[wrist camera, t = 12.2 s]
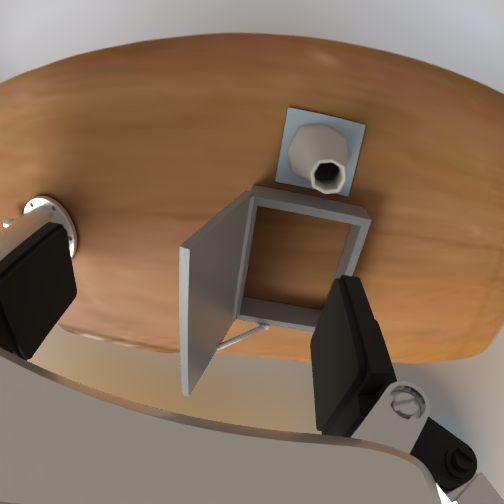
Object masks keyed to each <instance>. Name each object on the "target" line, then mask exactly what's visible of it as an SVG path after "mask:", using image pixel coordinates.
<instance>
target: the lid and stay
mask: <svg viewBox="0 0 504 504" xmlns="http://www.w3.org/2000/svg"><path fill="white" fill-rule="evenodd" d="M252 195H253V192H250V191H245V192H244V193H242V194H241V195H240V196H239V197H238V198H236V199H235V200H234V201H233V202H231V203H230V204H229V205H228V206H227V207H225V208H224V209H223V210H222V211H221V212H219V213H218V214H217V215H216V216H215V217H214V218H212V219H211V220H210V221H209V222H208V223H206V224H205V225H204V226H203V227H202V228H201V229H199V230H198V231H197V232H196V233H195V234H194V235H192V236H191V237H190V238H189V239H188V240H187V241H185V242H184V243H183V244H182V245H181V246H180V262H179V326H180V360H181V382H182V394H183V395H185V396H187V397H189V396H190V394H191V392H192V390H193V389H194V387H195V385H196V384H197V382H198V381H199V379H200V377H201V376H202V374H203V372H204V371H205V369H206V367H207V366H208V364H209V362H210V360H211V359H212V357H213V355H214V354H215V352H216V350H217V349H218V350H220V349H222V348H225V347H227V346H229V345H231V344H234V343H236V342H238V341H240V340H242V339H244V338H246V337H249V336H251V335H253V334H255V333H257V332H259V331H261V330H263V329H265V330H268V328H269V325H266V324H260V323H257V327H256V328H254V329H252V330H249V331H247V332H245V333H243V334H241V335H238V336H236V337H234V338H232V339H230V340H227V341H225V342H223V343H221V342H222V340H223V339H224V337H225V335H226V334H227V332H228V330H229V328H230V327H231V325H232V323H233V322H232V319H233V312H234V305H235V298H236V291H237V284H238V277H239V271H240V264H241V257H242V250H243V244H244V237H245V230H246V223H247V217H248V210H249V204H250V198H251V197H252Z"/></svg>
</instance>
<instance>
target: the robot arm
mask: <svg viewBox="0 0 504 504" xmlns="http://www.w3.org/2000/svg"><path fill="white" fill-rule="evenodd" d="M3 226H4V228H5V229H4V230H2V231H1V232H0V504H504V500H503V499H502V498H501V497H500V495H499V494H498V493H497V491H496V490H495V489H494V487H493V486H492V485H491V483H490V482H489V481H488V480H487V479H486V477H485V476H484V475H483V473H482V472H481V473H479V474H477V473H476V469H477V459H476V456H475V454H474V452H473V450H472V449H471V448H470V447H469V446H468V445H467V444H466V443H464V442H463V441H461V440H460V439H459V438H457V437H456V436H454V435H453V434H452V433H450V432H449V431H448V430H446V429H445V428H443V427H442V426H441V425H439V424H438V423H437V422H435V421H434V420H432V419H431V418H430V417H428V416H429V412H430V402H429V400H428V397H427V396H426V394H425V393H424V392H423V390H421V389H420V388H419V387H418V386H416V385H414V384H412V383H410V382H405V381H398V382H397V379H396V376H395V373H394V369H393V366H392V363H391V360H390V357H389V353H388V350H387V347H386V344H385V341H384V338H383V335H382V332H381V330H380V327H379V324H378V322H377V321H376V320H375V319H374V316H373V313H372V310H371V308H370V305H369V302H368V299H367V297H366V294H365V291H364V288H363V286H362V283H361V281H360V279H359V278H358V277H353V276H347V275H341V277H340V279H338V278H335V279H334V281H333V284H332V287H331V289H330V292H329V295H328V297H327V300H326V303H325V305H324V308H323V311H322V313H321V316H320V318H319V321H318V323H317V326H316V328H315V331H314V333H313V336H312V339H311V345H310V348H311V360H312V372H313V385H314V398H315V412H316V426H317V427H316V428H317V430H318V431H322V435H318V434H310V433H297V432H287V431H277V430H268V429H262V428H254V427H247V426H241V425H234V424H228V423H222V422H217V421H211V420H206V419H201V418H195V417H191V416H187V415H183V414H177V413H174V412H169V411H166V410H162V409H158V408H154V407H150V406H147V405H143V404H140V403H136V402H133V401H130V400H126V399H123V398H120V397H117V396H114V395H111V394H108V393H104V392H102V391H99V390H96V389H93V388H90V387H88V386H85V385H82V384H79V383H77V382H75V381H72V380H69V379H67V378H64V377H62V376H60V375H57V374H55V373H52V372H50V371H48V370H46V369H43V368H41V367H39V366H37V365H34V364H32V363H30V362H28V361H27V360H28V359H31V358H32V356H33V355H34V353H35V352H36V350H37V349H38V348H39V346H40V345H41V343H42V342H43V340H44V339H45V337H46V336H47V335H48V333H49V332H50V331H51V329H52V328H53V327H54V325H55V324H56V323H57V321H58V320H59V319H60V317H61V316H62V315H63V313H64V312H65V311H66V309H67V308H68V307H69V305H70V304H71V303H72V302H73V300H74V299H75V297H76V294H77V288H76V283H75V277H74V272H73V266H72V260H71V258H72V257H73V256H74V254H75V252H76V249H77V234H76V230H75V227H74V224H73V222H72V220H71V218H70V216H69V214H68V213H67V211H66V210H65V209H64V208H63V207H62V205H61V204H60V203H58V202H57V201H56V200H54V199H52V198H50V197H47V196H37V197H35V198H33V199H32V200H30V201H29V202H28V203H27V205H26V207H25V209H24V213H23V216H22V217H21V218H19V219H15V220H14V219H10V218H6V219H5V220H4V223H3Z"/></svg>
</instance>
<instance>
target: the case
mask: <svg viewBox="0 0 504 504" xmlns="http://www.w3.org/2000/svg"><path fill="white" fill-rule="evenodd" d="M251 192H253V195H252V197H251V198H250V204H249V210H248V217H247V223H246V230H245V237H244V244H243V250H242V257H241V264H240V271H239V277H238V284H237V291H236V298H235V305H234V312H233V319H232V322H234V321H235V320H236V319H238V320H243V321H249V322H254V323H260V324H266V325H272V326H278V327H284V328H290V329H296V330H303V331H309V332H314V331H315V328H316V326H317V323H318V321H319V318H320V316H321V313H322V311H323V310H318V309H312V308H306V307H300V306H294V305H288V304H282V303H276V302H270V301H265V300H259V299H254V298H248V297H243V296H244V289H245V283H246V277H247V271H248V265H249V259H250V253H251V247H252V241H253V235H254V229H255V222H256V216H257V210H258V206H262V207H267V208H273V209H278V210H283V211H289V212H294V213H299V214H304V215H310V216H315V217H320V218H325V219H329V220H334V221H339V222H344V223H349V224H351V227H350V230H349V233H348V236H347V240H346V243H345V246H344V249H343V252H342V255H341V258H340V261H339V264H338V267H337V270H336V273H335V276H334V279H335V278H338V279H340V277H341V275H347V276H352V275H353V272H354V270H355V267H356V264H357V261H358V259H359V256H360V253H361V250H362V247H363V244H364V241H365V239H366V236H367V233H368V230H369V227H370V223H371V218H370V216H369V215H368V213H367V211H366V209H365V208H364V207H361V206H357V205H353V204H348V203H344V202H339V201H335V200H330V199H325V198H320V197H315V196H311V195H306V194H301V193H295V192H290V191H285V190H280V189H274V188H269V187H263V186H257V185H253V187H252V190H251ZM334 279H333V281H334ZM332 284H333V282H332ZM331 287H332V285H331ZM331 287H330V289H331ZM329 292H330V290H329ZM328 295H329V293H328ZM327 297H328V296H327ZM326 300H327V299H326ZM325 303H326V301H325ZM324 305H325V304H324ZM323 308H324V307H323Z"/></svg>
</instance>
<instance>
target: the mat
mask: <svg viewBox="0 0 504 504" xmlns="http://www.w3.org/2000/svg"><path fill="white" fill-rule="evenodd" d="M316 124H326V125H327V126H329V127H331V128H333V129H334V130H336V131H338V132H340V133H341V134H343V135H345V136H346V141H347V149H348V158H349V161H348V162H347V164H346V166H345V168H346V177H347V181H346V182H345V184H344V186H343V187H342V189H341V190H340V192H338V193H334V194H339V195H343V196H348V195H349V191H350V188H351V184H352V180H353V176H354V172H355V168H356V164H357V160H358V156H359V152H360V148H361V144H362V139H363V135H364V130H365V126H366V125H364V124H360V123H356V122H353V121H349V120H345V119H341V118H337V117H332V116H328V115H324V114H319V113H315V112H310V111H305V110H300V109H295V108H289V107H288V111H287V117H286V123H285V128H284V134H283V140H282V145H281V151H280V156H279V162H278V168H277V173H276V179H275V182H280V183H285V184H290V185H296V186H301V187H306V188H311V189H315V188H313V187H312V183H311V182H309V181H307V180H306V179H304V178H302V177H300V176H298V175H296V174H294V173H292V172H291V168H290V162H289V156H288V151H287V147H288V146H289V144H290V142H291V140H292V138H293V136H294V135H295V133H296V131H297V129H298V127H300V126H308V125H316ZM316 190H317V189H316Z"/></svg>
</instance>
